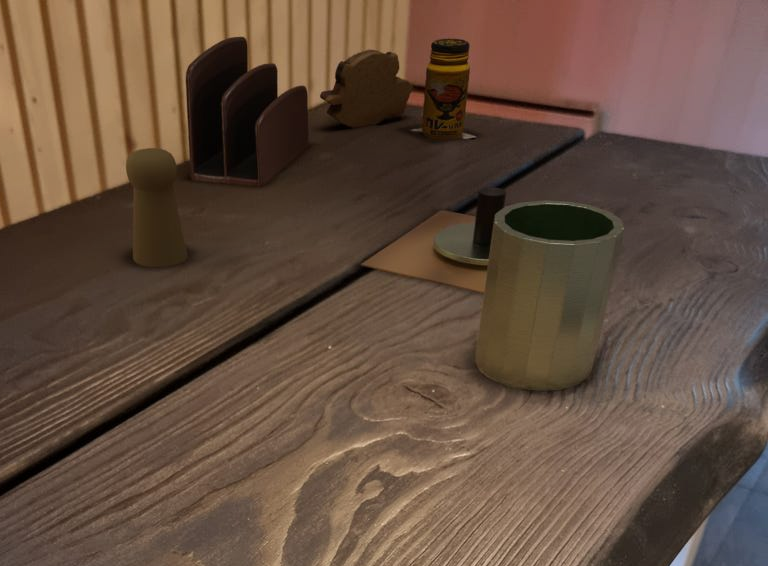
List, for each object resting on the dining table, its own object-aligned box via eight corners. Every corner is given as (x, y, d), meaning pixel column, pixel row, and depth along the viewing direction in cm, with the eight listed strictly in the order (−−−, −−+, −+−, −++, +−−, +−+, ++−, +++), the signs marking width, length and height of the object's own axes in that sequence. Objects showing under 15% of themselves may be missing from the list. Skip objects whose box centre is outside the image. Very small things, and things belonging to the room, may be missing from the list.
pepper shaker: (127, 254, 102) (113, 146, 95) (179, 247, 104) (170, 139, 96) (140, 274, 98) (127, 162, 91) (195, 266, 100) (186, 155, 92)
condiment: (437, 146, 132) (446, 48, 124) (401, 132, 137) (408, 38, 129) (476, 138, 135) (488, 42, 127) (440, 125, 140) (449, 32, 132)
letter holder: (190, 183, 121) (180, 58, 111) (244, 142, 134) (240, 27, 125) (261, 190, 118) (258, 63, 109) (309, 148, 132) (310, 31, 122)
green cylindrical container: (605, 359, 83) (639, 213, 74) (566, 406, 77) (599, 253, 68) (500, 334, 87) (522, 193, 78) (456, 376, 81) (474, 228, 72)
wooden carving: (392, 113, 145) (396, 39, 139) (413, 119, 143) (418, 43, 136) (313, 133, 138) (314, 55, 131) (334, 139, 135) (336, 60, 128)
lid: (552, 245, 102) (562, 185, 98) (513, 279, 95) (523, 216, 91) (458, 227, 106) (465, 168, 102) (415, 258, 99) (420, 197, 95)
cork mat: (603, 246, 103) (604, 240, 103) (538, 309, 91) (539, 303, 90) (440, 214, 111) (441, 209, 111) (360, 269, 99) (360, 264, 98)
